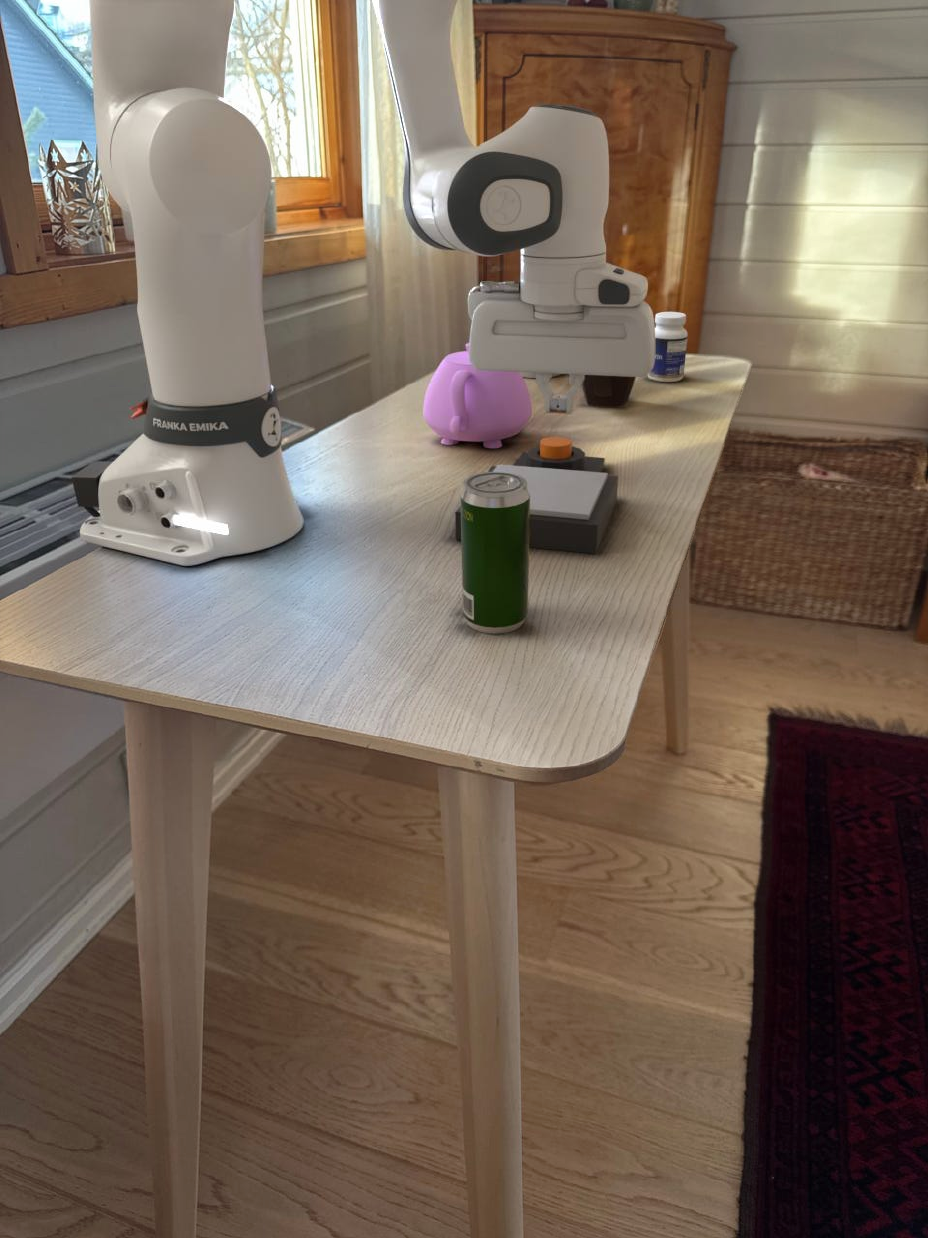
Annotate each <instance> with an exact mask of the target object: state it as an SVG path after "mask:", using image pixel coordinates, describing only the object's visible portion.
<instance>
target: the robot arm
mask: <svg viewBox="0 0 928 1238" xmlns="http://www.w3.org/2000/svg"><path fill="white" fill-rule="evenodd" d="M457 3H458V0H372V4H373V8H374V11H375V15H376V18H377V22H378V25H379V28H380V35H381V36H380V37H381V41H382V45H383V50H384V56H385V60H386V64H387V68H388V74H389V77H390V82H391V87H392V91H393V96H394V101H395V105H396V110H397V115H398V120H399V123H400V129H401V133H402V138H403V145H404V155H405V157H404V158H405V159H404V160H405V161H404V171H403V173H404V175H403V183H402V184H403V185H402V203H403V208H404V209H403V210H404V214H405V217H406V219H407V222H408V224H409V226H410V227H411V229H412V231H413V232H414V233H415V235H416V236H417V237H418V238H419V239H420V240H422V241H423V242H424V243H425V244H427V245H428V246H430V247H433V248H435V249H439V250H443V251H458V252H463V253H465V254H468V255H475V256H480V257H491V258H492V257H497V256H500V255H504V254H508V253H511V252H515V251H519V250H520V280H519V281H517V280H516V281H498V282H497V281H496V282H495V281H492V280H491V281H490V280H485V281H481V282H480V284H478V285H476V286H474V287H473V288H472V289H471V290H470V291H469V293H468V296H467V314H468V317H469V319H470V321H471V326H470V333H469V342H468V343H469V361H470V363H471V364H472V366H473V367H474V368H475V369H476V370H485V371H509V372H533V373H536V378H535V384H536V385H537V388H538V389H539V391H540V393H541V394H542V396H543V398H544V399H545V401H544V403H545V405H544V406H545V407H544V411H545V413H546V414H564V415H571V414H572V413H573V412H574V406H575V396H576V395H577V393H578V391H579V390H580V388H581V387H582V383H583V381H584V377H585V375H604V376H628V377H636V378H645V377H646V376H648V373H649V372H650V371H651V370H652V369H653V367H654V363H655V350H656V342H655V328H656V324H655V317H654V312H653V310H652V307H651V306H650V304H649V303H648V302H646V301H645V299H646V297H647V295H648V289H649V282H648V279H647V277H646V276H644V275H642V274H640V273H637V272H634V271H631V270H628V269H626V268H622V267H619V266H617V265H614V264H611V263H609V262H607V244H606V239H605V235H604V223H605V219H606V214H607V211H608V208H609V195H610V154H609V140H608V133H607V130H606V127H605V124H604V122H603V120H602V119H601V118H600V117H599V116H598V115H597V114H596V113H594V112H592V110H591V111H590V110H588V109H585V108H582V107H577V106H573V105H566V104H563V105H562V104H557V103H540V104H535V105H533V106H531V107H530V108H529V109H528V111H527V112H526V113H525V114H524V115H523V117H522V116H521V118H520V119H518V120H517V121H516V122H515V123H513V125H511V126H510V127H509V128H507V129H505V130H504V131H502V132H500V133H499V134H498V135H496V136H494V137H492V138H490V139H489V140H486V141H484V142H482V143H480V144H479V145H478V146H475V145H474V144H473V142H472V141H471V139H470V137H469V136H468V133H467V130H466V127H465V123H464V122H465V121H464V118H463V112H462V107H461V100H460V95H459V91H458V83H457V79H456V73H455V68H454V67H455V66H454V62H453V56H452V48H451V31H452V30H451V29H452V21H453V16H454V14H455V13H454V12H455V9H456V6H457ZM235 7H236V2H235V0H89V15H90V16H89V17H90V48H91V49H90V51H91V53H90V55H91V76H92V94H93V95H92V97H93V110H94V111H93V112H94V123H95V124H94V125H95V136H96V137H95V138H96V148H97V160H98V167H99V171H100V175H101V178H102V181H103V183H104V185H105V187H106V190H107V191H108V193H109V194H110V196H111V198H112V199H113V201H114V202H115V203H116V204H117V206H119V208H121V209H122V211H124V212H125V213H126V214H127V215H129V217H131V223H132V231H133V241H134V242H133V243H134V252H135V265H136V279H137V306H136V311H137V312H136V313H137V317H138V323H139V329H140V334H141V337H142V339H141V340H142V345H143V351H144V354H145V355H144V356H145V361H146V366H147V371H148V377H149V383H150V387H151V394H150V395H148V396H147V397H146V398H143V400H142V402H140V403H137V404H135V405H133V406H131V407H129V410H130V411H133V410H134V411H135V410H136V409H137V410H136V411H135V412H134V413H133V414H132V415H131V416H130V418H131V419H132V420H135V419H138V418H140V417H141V416H145V417H144V422H143V427H142V434H141V435H140V436H139V437H137V438H136V439H135V441H133V442H132V443H131V444H130V445H129V446H128V447H127V448H126V449H125V450H124V451H123V452H122V453H121V454H120V455H118V456H117V458H116V459H114V461H96V460H95V461H92V462H90V463H89V464H88V465H87V466H85V467H84V468H82V469H80V471H78V472H76V473H75V474H74V475H72V476H71V478H70V479H71V482H72V487H73V491H74V495H75V499H76V503H77V506H78V508H84V509H85V510H86V511H87V512H88V513H89V515H90V516H89V517H88V518H87V519H86V520H85V521H84V522H83V523H82V525H81V526H80V528H79V537H80V538H79V539H80V541H81V542H85V543H89V544H92V545H96V546H101V547H105V548H109V549H111V550H112V549H113V550H116V551H121V552H125V553H128V554H132V555H133V554H134V555H138V556H142V557H146V558H149V559H152V560H153V559H154V560H158V561H161V562H165V563H166V562H167V563H171V564H174V565H177V566H178V565H179V566H184V567H187V566H188V567H189V566H190V567H191V566H195V565H200V564H204V563H207V562H210V561H213V560H217V559H220V558H225V557H230V556H237V555H243V554H244V555H245V554H249V553H253V552H259V551H262V550H265V549H269V548H271V547H274V546H277V545H280V544H282V543H284V542H286V541H288V540H290V539H291V538H293V537H294V536H295V535H297V534H299V532H300V531H301V530H302V528H303V527H304V523H305V519H304V517H303V514H302V511H300V510H301V509H300V508H299V505H298V503H297V500H296V498H295V495H294V491H293V489H292V486H291V482H290V479H289V475H288V472H287V468H286V464H285V460H284V459H285V458H284V456H283V449H282V442H283V441H282V435H283V434H282V421H281V415H280V414H281V413H280V407H279V406H280V405H279V399H278V394H277V389H276V387H275V386H274V385H273V384H272V380H271V373H270V372H271V371H270V364H269V356H268V355H269V354H268V347H267V337H266V329H265V319H264V310H263V309H264V308H263V307H264V306H263V274H264V273H263V272H264V254H265V222H266V221H265V214H266V213H265V212H266V204H267V202H268V199H269V197H270V192H271V188H272V176H273V175H272V174H273V173H272V163H271V157H270V154H269V150H268V147H267V144H266V143H265V140H264V138H263V136H262V135H261V133H260V132H259V129H258V128H257V127H256V126H255V125H254V123H253V122H252V121H251V119H249V117H247V116H246V115H245V114H244V113H243V112H242V111H241V110H240V109H239V108H238V107H236V106H235V105H233V104H232V103H231V102H229V101H228V100H227V99H225V90H226V77H227V63H228V54H229V53H228V52H229V42H230V35H231V30H232V25H233V21H234V17H235V11H236V10H235V9H236V8H235ZM479 290H480V291H479ZM552 373H556V374H561V375H568V384H570V385H572V387H571V388H570V390H569V391H568V393H567V394H561V393H555V392H554V391H553V388H552V387H551V384H550V382H549V381H550V380H551V379H552V378H553V377H552ZM96 508H98V509H99V510H97V509H96Z"/></svg>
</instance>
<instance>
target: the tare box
mask: <svg viewBox="0 0 928 1238" xmlns="http://www.w3.org/2000/svg"><path fill="white" fill-rule="evenodd" d="M605 461H606V459H605V457H598V456H597V457H596V456H586V453H585V451H583V450H582V449H581V448H579V447H576V446H573V445H572V452H571V457H569V458H565V459H548V458H544V457H540V445H537V446H535V447H531V448H529V449H528V451H522V452H521V454H520V455H519V456H518V458H517V459H516V460H515V462H514V463H513V464H512V466H525V467H538V468H550V469H563V470H576V471H588V472H601V473H603V471H604V469H605Z"/></svg>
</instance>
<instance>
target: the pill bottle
mask: <svg viewBox="0 0 928 1238" xmlns="http://www.w3.org/2000/svg"><path fill="white" fill-rule="evenodd" d="M686 322H687V314H686V313H684V312H678V311H661V312H658V313H656V314H655V317H654V324H655V342H656V350H655V363H654V367H653V369H652V370H651V371H650V372H649V373H648V374H647V378H648V379H649V380H651V381H653V382H658V383H677V382H679V381H681V380H683V378H684V375H685V368H686V367H685V366H686V357H687V355H686V354H687V346H688V331H687V329H685V327H684V325H685V324H686Z"/></svg>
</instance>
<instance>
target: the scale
mask: <svg viewBox="0 0 928 1238" xmlns="http://www.w3.org/2000/svg"><path fill="white" fill-rule="evenodd" d="M487 472H506V473H512V474H516V475H519V476H522V477H523V478H525V479H526V481H527V490H528V492H529V494H530V529H529V548H533V549H543V550H552V551H563V552H572V553H580V554H581V553H582V554H589V555H590V554H592V555H596V554H597V553H598V550H599V547H600V545H601V543H602V540H603V538H604V535H605V533H606V530H607V527H608V524H609V522H610V519H611V517H612V514H613V512H614V510H615V506H616V504H617V499H618V488H619V487H618V485H619V476H618V475H611V474H610V475H609V473H608V472H602V473H601V472H588V471H576V470H563V469H550V468H538V467H525V466H513V464H499V463H498V464H497V465H491V466H490V467H489V469H488V470H487ZM454 521H455V541H461V504H460V505H459V506H458V508H457V509H456V510H455V512H454Z"/></svg>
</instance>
